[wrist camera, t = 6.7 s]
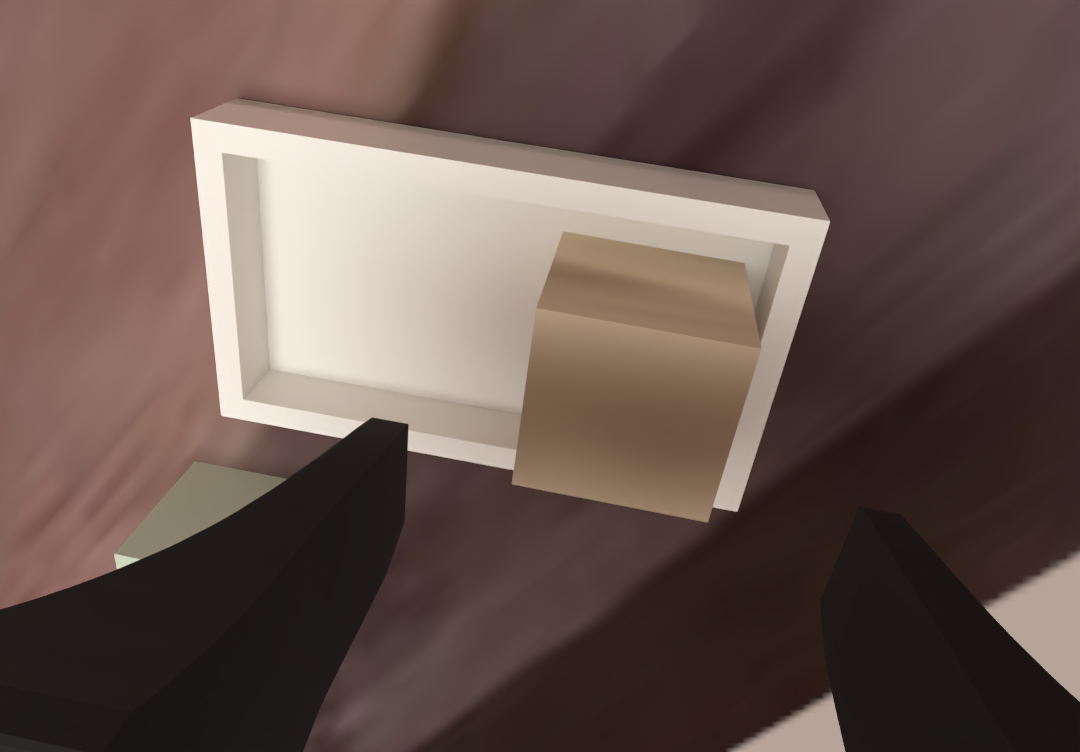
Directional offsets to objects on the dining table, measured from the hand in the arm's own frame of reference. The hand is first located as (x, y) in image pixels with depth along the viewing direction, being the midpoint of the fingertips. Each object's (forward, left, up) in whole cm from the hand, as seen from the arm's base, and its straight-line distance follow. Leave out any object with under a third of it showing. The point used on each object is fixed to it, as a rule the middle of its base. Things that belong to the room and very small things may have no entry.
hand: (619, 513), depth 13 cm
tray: (0, +3, -7) cm, 8 cm away
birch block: (0, 0, -7) cm, 7 cm away
